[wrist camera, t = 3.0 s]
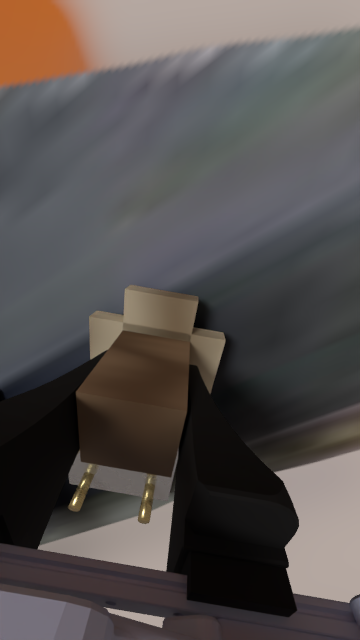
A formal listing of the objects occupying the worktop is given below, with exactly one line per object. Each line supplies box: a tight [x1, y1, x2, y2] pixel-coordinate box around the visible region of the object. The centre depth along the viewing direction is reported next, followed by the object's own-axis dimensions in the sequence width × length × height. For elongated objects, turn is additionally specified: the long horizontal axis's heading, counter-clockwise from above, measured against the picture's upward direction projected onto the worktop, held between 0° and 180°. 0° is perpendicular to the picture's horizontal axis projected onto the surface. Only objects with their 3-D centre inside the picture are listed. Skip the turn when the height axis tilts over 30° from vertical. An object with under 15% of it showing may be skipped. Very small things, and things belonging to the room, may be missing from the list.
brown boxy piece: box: [76, 285, 226, 478], centre depth 11 cm, size 8×9×6 cm
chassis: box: [68, 447, 179, 524], centre depth 17 cm, size 10×11×4 cm
